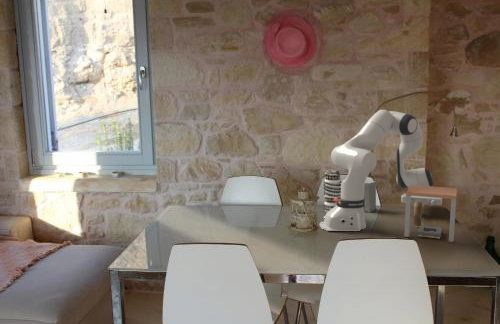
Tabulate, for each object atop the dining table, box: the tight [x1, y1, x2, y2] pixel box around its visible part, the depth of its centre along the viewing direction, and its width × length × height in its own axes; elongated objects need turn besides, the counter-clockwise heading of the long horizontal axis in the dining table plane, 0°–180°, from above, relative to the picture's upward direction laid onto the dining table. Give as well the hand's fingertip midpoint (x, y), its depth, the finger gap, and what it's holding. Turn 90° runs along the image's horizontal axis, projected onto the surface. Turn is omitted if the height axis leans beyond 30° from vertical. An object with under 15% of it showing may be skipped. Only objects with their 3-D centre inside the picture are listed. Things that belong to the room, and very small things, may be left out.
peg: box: [413, 202, 423, 226], centre depth 259 cm, size 4×4×12 cm
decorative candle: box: [323, 168, 343, 219], centre depth 274 cm, size 9×9×25 cm
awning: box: [403, 185, 458, 241], centre depth 244 cm, size 15×21×22 cm
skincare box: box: [364, 180, 377, 213], centre depth 289 cm, size 8×7×16 cm
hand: (420, 203), depth 269 cm, fingers open, 8 cm apart
